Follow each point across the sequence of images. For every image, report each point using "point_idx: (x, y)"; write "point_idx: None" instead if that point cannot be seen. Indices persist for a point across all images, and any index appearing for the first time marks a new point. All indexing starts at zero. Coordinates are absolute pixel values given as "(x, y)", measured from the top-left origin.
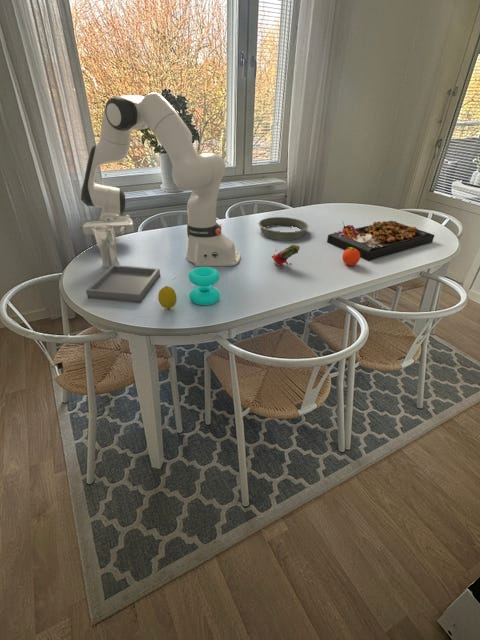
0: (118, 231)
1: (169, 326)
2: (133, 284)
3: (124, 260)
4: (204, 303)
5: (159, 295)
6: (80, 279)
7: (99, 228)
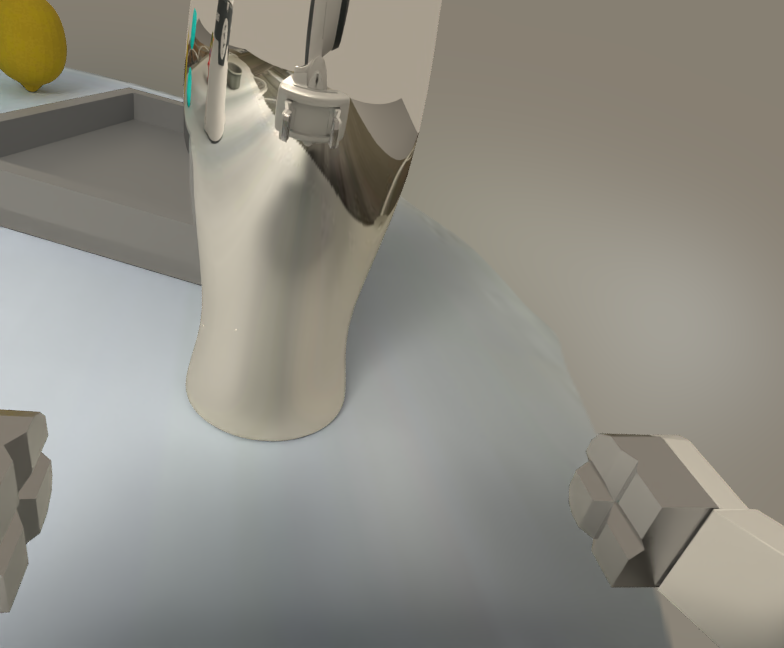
0: (32, 415)
1: (71, 71)
2: (129, 163)
3: (108, 448)
4: None
5: (61, 23)
6: (438, 284)
7: (402, 17)
